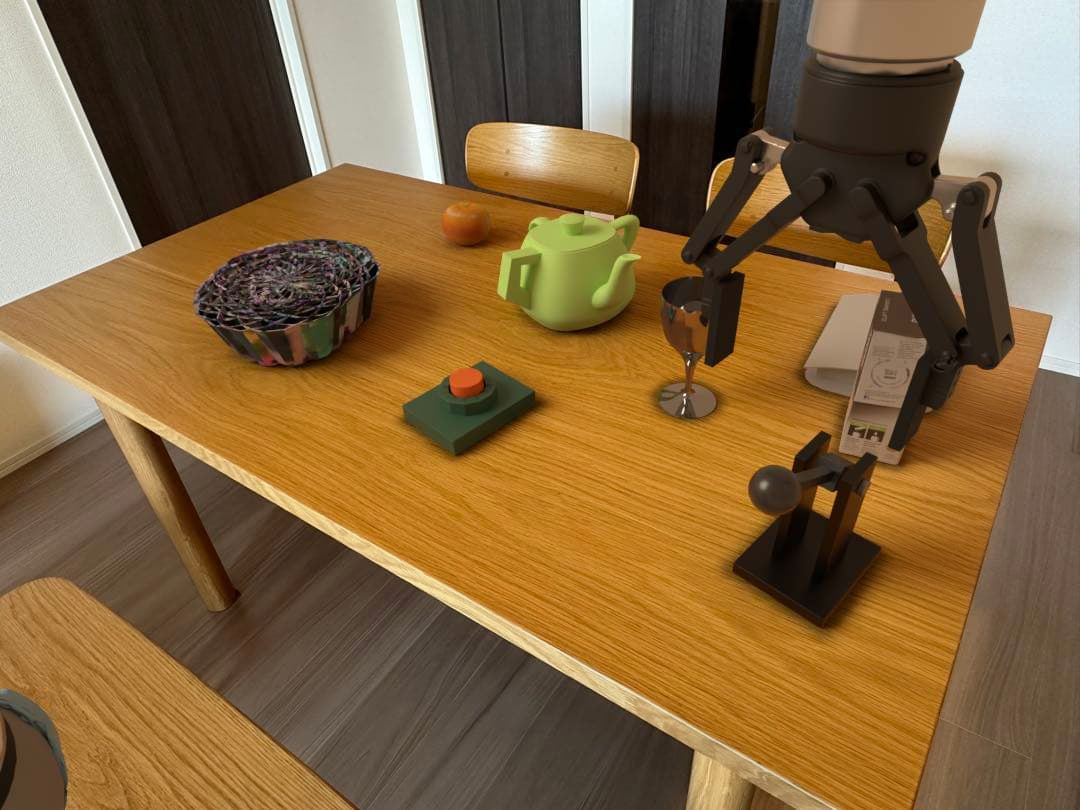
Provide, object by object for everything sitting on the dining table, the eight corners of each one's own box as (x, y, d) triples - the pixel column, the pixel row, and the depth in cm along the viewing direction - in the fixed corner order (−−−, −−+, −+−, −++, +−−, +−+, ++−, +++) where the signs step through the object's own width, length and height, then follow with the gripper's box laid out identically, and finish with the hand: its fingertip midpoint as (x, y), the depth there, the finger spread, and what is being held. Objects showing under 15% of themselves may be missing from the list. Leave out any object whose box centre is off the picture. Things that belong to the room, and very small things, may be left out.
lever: (777, 529, 47) (798, 483, 46) (731, 503, 49) (751, 458, 48) (848, 498, 59) (867, 461, 58) (809, 478, 61) (826, 441, 60)
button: (465, 403, 82) (463, 391, 81) (444, 389, 84) (442, 378, 83) (490, 388, 84) (489, 376, 83) (469, 375, 86) (468, 363, 85)
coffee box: (900, 467, 75) (945, 342, 65) (837, 453, 77) (872, 330, 67) (904, 417, 81) (946, 296, 71) (846, 405, 84) (879, 286, 74)
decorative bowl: (410, 296, 114) (401, 238, 109) (351, 385, 92) (336, 317, 86) (264, 293, 117) (248, 237, 112) (173, 379, 95) (147, 313, 89)
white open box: (957, 326, 96) (967, 301, 93) (931, 419, 81) (942, 392, 78) (842, 301, 103) (848, 277, 100) (798, 382, 88) (804, 357, 85)
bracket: (820, 629, 60) (857, 520, 51) (731, 571, 65) (751, 464, 57) (878, 556, 66) (920, 447, 57) (792, 508, 71) (819, 402, 63)
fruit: (505, 216, 125) (476, 183, 120) (486, 250, 121) (455, 218, 117) (476, 227, 131) (447, 196, 126) (457, 260, 127) (426, 230, 123)
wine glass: (662, 376, 90) (669, 272, 81) (724, 387, 88) (739, 281, 78) (647, 413, 84) (653, 305, 75) (713, 426, 82) (728, 316, 73)
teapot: (528, 275, 114) (522, 189, 105) (650, 283, 110) (655, 194, 101) (498, 336, 100) (488, 243, 91) (637, 347, 96) (641, 251, 87)
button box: (455, 456, 80) (450, 429, 78) (404, 419, 86) (399, 393, 83) (536, 404, 87) (534, 378, 84) (484, 373, 93) (481, 348, 90)
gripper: (1215, 74, 29) (1022, 450, 42) (714, 20, 44) (686, 313, 57) (1176, 115, 25) (976, 516, 38) (639, 41, 40) (627, 351, 53)
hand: (803, 395), depth 48 cm, fingers open, 13 cm apart
